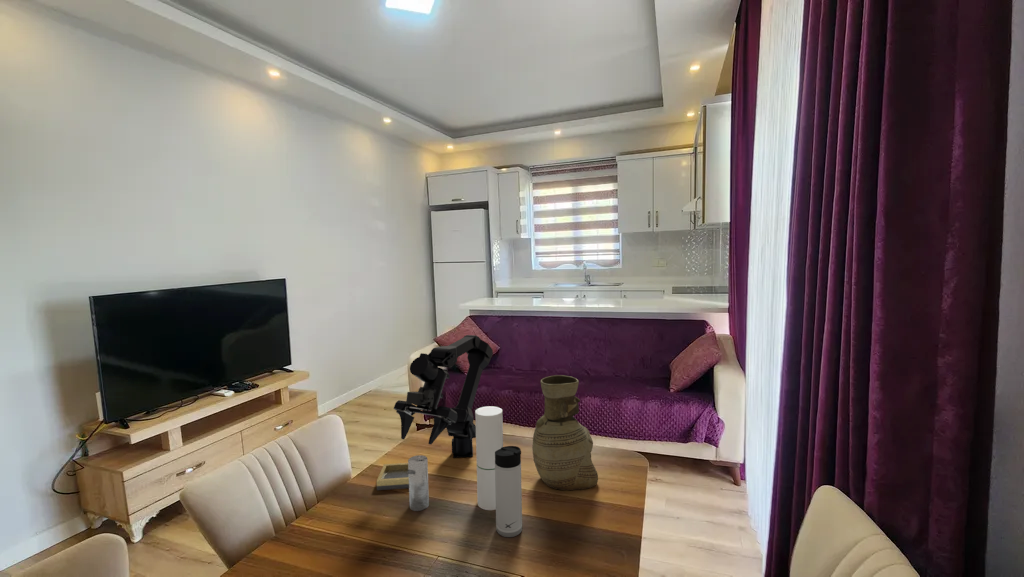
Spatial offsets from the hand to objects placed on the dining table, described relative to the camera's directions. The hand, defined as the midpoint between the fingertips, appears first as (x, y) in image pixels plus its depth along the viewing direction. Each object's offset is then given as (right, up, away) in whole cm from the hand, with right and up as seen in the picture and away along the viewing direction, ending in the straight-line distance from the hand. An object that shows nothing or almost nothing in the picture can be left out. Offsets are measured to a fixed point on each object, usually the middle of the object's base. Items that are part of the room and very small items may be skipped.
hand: (415, 441), depth 117 cm
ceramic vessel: (+42, -14, +6) cm, 45 cm away
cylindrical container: (+21, -15, -5) cm, 26 cm away
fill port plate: (-7, -14, +8) cm, 18 cm away
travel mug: (+26, -15, -16) cm, 35 cm away
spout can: (+2, -15, -7) cm, 17 cm away
